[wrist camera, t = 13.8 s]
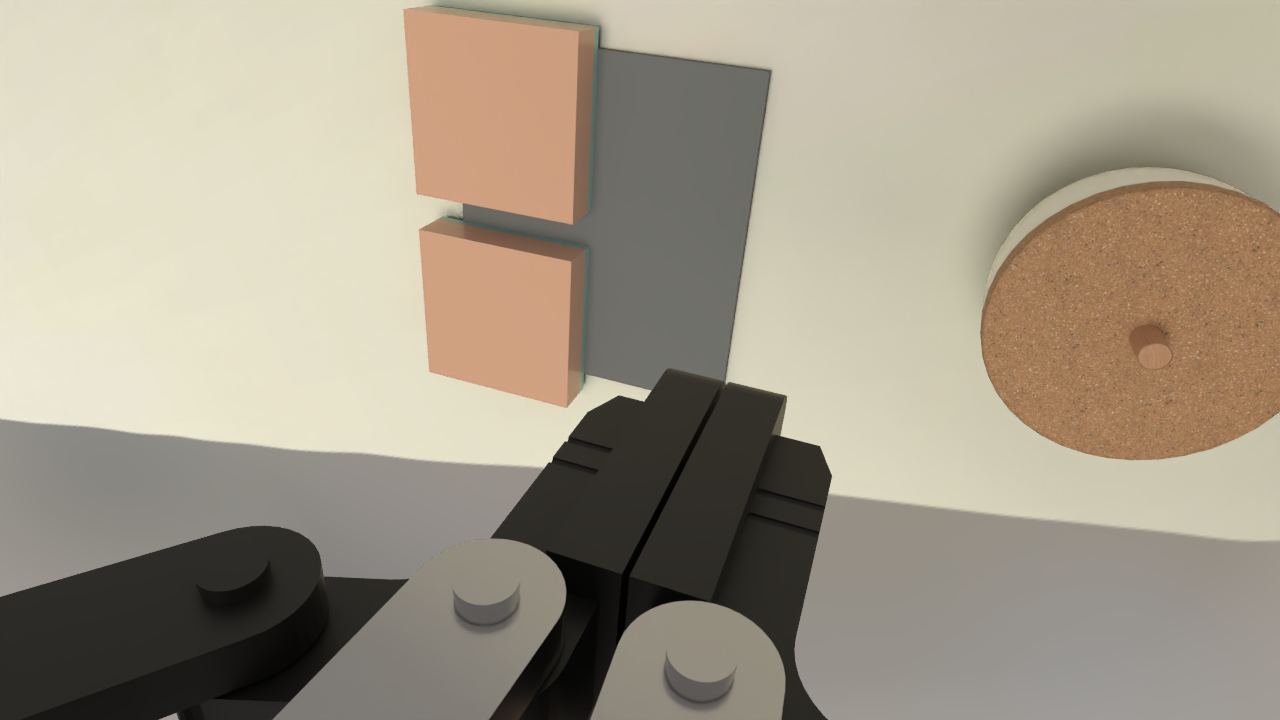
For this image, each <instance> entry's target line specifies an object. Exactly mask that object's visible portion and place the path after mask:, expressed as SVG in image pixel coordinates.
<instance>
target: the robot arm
mask: <svg viewBox="0 0 1280 720" xmlns="http://www.w3.org/2000/svg"><path fill="white" fill-rule="evenodd" d="M786 402H787V396H786V395H781V394H777V393H773V392H769V391H765V390H761V389H756V388H752V387H748V386H744V385H740V384H735V383H731V382H728V384H727V385H726V383H725V381H722V380H718V379H714V378H710V377H705V376H701V375H697V374H693V373H689V372H685V371H680V370H676V369H672V368H668V369H666V370H665V372H664V373H663V375H662V376H661V378H660V379H659V381H658V382H657V384H656V385H655V387H654V388H653V390H652V391H651V393H650V394H649V396H648V397H647V399H646V400H645V402H643V401H639V400H635V399H631V398H627V397H623V396H617V397H615V398H613V399H611V400H610V401H608V402H606V403H604V404H602V405H600V406H598V407H597V408H595V409H593V410H591V411H589V412H587V414H586V415H585V416H584V418H583V419H582V420H581V421H580V423H579V424H578V425H577V427H576V428H575V429H574V431H573V432H572V433H571V434H570V436H569V439H568V442H564V444H563V445H562V446H561V447H560V449H559V450H558V451H557V453H556V454H555V455H554V456H553V460H552V463H550V462H549V463H548V464H547V466H546V467H545V468H544V469H543V471H542V472H541V473H540V475H539V476H538V477H537V479H536V480H535V481H534V482H533V484H532V485H531V486H530V488H529V489H528V490H527V492H526V493H525V494H524V495H523V497H522V498H521V499H520V501H519V502H518V503H517V505H516V506H515V507H514V509H513V510H512V511H511V512H510V514H509V515H508V516H507V517H506V519H505V520H504V521H503V523H502V524H501V525H500V527H499V528H498V529H497V530H496V532H495V533H494V534H493V536H492V537H491V538H490V539H479V540H474V541H469V542H465V543H462V544H458V545H456V546H453V547H451V548H448V549H446V550H444V551H442V552H440V553H439V554H437V555H436V556H435V557H433V558H431V559H430V560H429V561H428V562H427V563H425V564H424V565H423V566H422V567H421V568H420V569H419V570H418V571H417V572H416V573H415V574H414V575H413V576H412V577H411V578H410V579H404V580H403V579H402V580H386V579H365V578H343V577H324V576H323V569H322V564H321V559H320V555H319V552H318V551H317V549H316V547H315V545H314V544H313V543H312V542H311V541H310V540H309V539H307V538H306V537H304V536H303V535H301V534H300V533H297V532H294V531H292V530H289V529H284V528H280V527H272V526H251V527H244V528H237V529H233V530H229V531H225V532H221V533H217V534H214V535H211V536H207V537H204V538H201V539H197V540H193V541H190V542H187V543H183V544H180V545H176V546H173V547H170V548H166V549H163V550H160V551H156V552H152V553H149V554H146V555H142V556H139V557H135V558H132V559H129V560H126V561H122V562H119V563H115V564H112V565H108V566H104V567H101V568H98V569H95V570H91V571H87V572H84V573H81V574H77V575H74V576H70V577H67V578H64V579H60V580H57V581H53V582H50V583H46V584H43V585H40V586H36V587H33V588H29V589H26V590H23V591H19V592H16V593H12V594H9V595H6V596H2V597H0V720H159V719H161V718H163V717H166V716H169V715H172V714H174V713H177V716H178V718H179V720H828V719H827V718H825V716H823V714H822V713H821V712H820V711H819V710H818V708H817V707H816V706H815V705H814V703H813V702H812V700H811V699H810V697H809V696H808V694H807V692H806V691H805V689H804V687H803V684H802V682H801V680H800V678H799V675H798V671H797V668H796V663H795V653H794V648H795V639H796V634H797V630H798V625H799V621H800V616H801V612H802V608H803V603H804V599H805V594H806V589H807V585H808V581H809V576H810V572H811V567H812V563H813V559H814V553H815V550H816V545H817V541H818V535H819V531H820V527H821V523H822V518H823V514H824V509H825V505H826V501H827V496H828V492H829V487H830V483H831V478H832V475H831V473H830V470H829V468H828V465H827V463H826V460H825V458H824V455H823V453H822V450H821V448H820V446H817V445H813V444H809V443H805V442H801V441H797V440H793V439H789V438H785V437H782V436H780V434H781V429H782V424H783V419H784V414H785V408H786Z"/></svg>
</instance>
